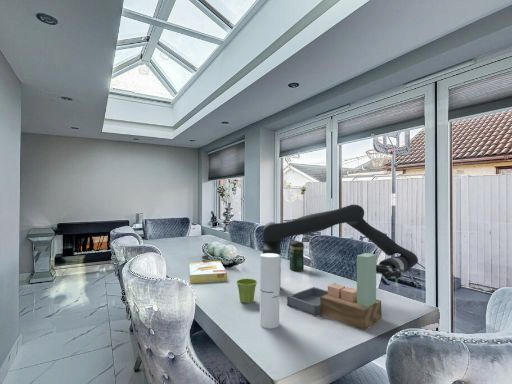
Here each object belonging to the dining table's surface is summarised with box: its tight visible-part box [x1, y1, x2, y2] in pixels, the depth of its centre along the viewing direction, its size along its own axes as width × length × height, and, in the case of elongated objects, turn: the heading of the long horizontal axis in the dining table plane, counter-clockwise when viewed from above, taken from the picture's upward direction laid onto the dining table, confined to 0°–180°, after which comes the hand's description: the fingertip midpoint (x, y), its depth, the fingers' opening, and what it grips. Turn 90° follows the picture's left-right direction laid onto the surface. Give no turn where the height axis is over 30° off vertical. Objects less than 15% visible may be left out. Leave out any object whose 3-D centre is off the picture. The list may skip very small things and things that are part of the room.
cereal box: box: [188, 261, 228, 284], centre depth 166 cm, size 20×6×28 cm
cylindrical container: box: [259, 253, 281, 329], centre depth 102 cm, size 7×7×25 cm
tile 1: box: [327, 283, 346, 298], centre depth 113 cm, size 5×5×4 cm
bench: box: [319, 294, 382, 332], centre depth 109 cm, size 14×18×7 cm
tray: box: [286, 286, 328, 317], centre depth 121 cm, size 19×15×4 cm
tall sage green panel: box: [356, 252, 377, 308], centre depth 104 cm, size 7×4×18 cm, turn 133°
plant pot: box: [235, 278, 258, 304], centre depth 125 cm, size 9×9×9 cm
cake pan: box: [200, 254, 223, 265], centre depth 198 cm, size 25×25×4 cm
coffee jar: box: [289, 240, 305, 272], centre depth 180 cm, size 10×8×19 cm
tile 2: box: [341, 286, 357, 302], centre depth 109 cm, size 5×5×4 cm
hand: (374, 273), depth 109 cm, fingers open, 8 cm apart
